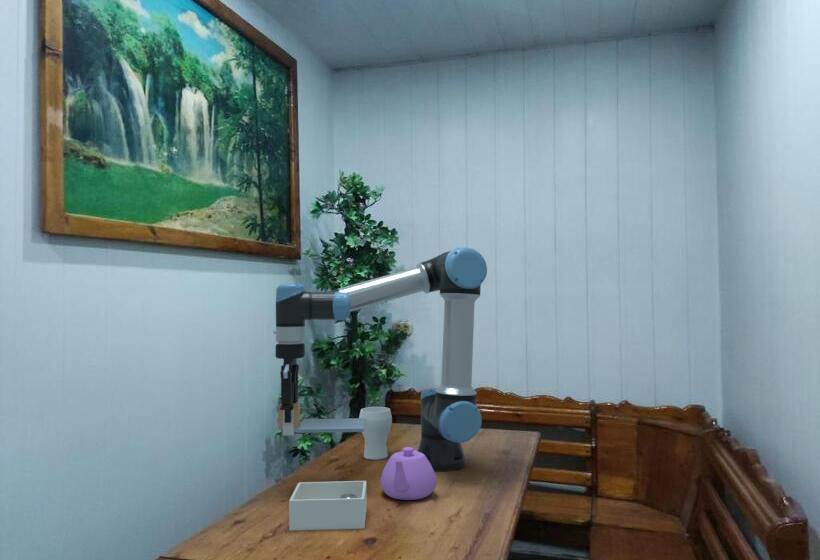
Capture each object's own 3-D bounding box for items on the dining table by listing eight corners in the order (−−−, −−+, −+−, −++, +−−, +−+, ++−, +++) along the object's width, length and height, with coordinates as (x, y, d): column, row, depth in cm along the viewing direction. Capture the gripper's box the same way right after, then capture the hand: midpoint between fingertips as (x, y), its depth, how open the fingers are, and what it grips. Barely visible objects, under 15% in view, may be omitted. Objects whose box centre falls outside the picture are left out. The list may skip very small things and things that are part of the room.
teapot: (426, 515, 124) (425, 461, 124) (368, 510, 127) (367, 458, 128) (442, 486, 143) (442, 440, 143) (392, 483, 146) (391, 438, 147)
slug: (356, 511, 124) (356, 493, 125) (355, 517, 121) (355, 499, 121) (341, 511, 124) (341, 494, 124) (339, 517, 121) (339, 499, 121)
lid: (365, 421, 147) (365, 399, 147) (363, 431, 134) (363, 407, 134) (284, 422, 146) (284, 400, 146) (274, 433, 133) (274, 408, 133)
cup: (387, 461, 166) (387, 413, 167) (355, 460, 168) (354, 412, 169) (395, 452, 177) (395, 406, 177) (364, 451, 179) (364, 405, 180)
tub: (366, 510, 127) (366, 480, 127) (364, 532, 115) (364, 498, 115) (298, 512, 126) (298, 482, 126) (289, 534, 114) (289, 500, 114)
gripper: (281, 341, 149) (281, 426, 147) (269, 345, 133) (268, 441, 131) (309, 340, 149) (308, 426, 148) (299, 344, 133) (298, 440, 132)
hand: (289, 433), depth 139 cm, fingers closed on lid, 3 cm apart
